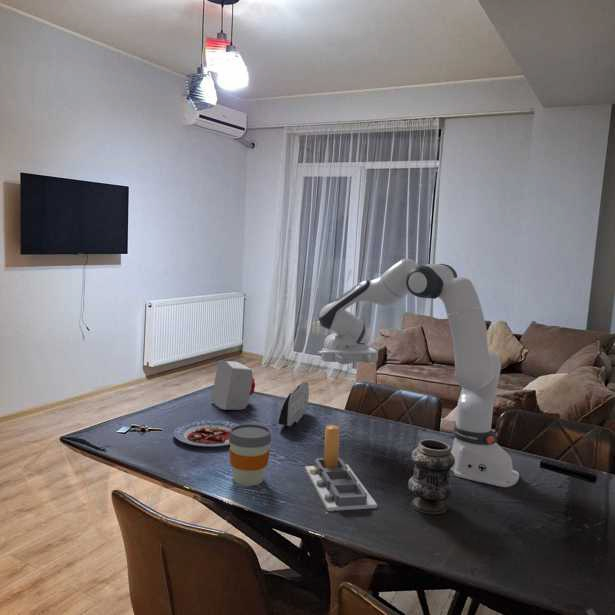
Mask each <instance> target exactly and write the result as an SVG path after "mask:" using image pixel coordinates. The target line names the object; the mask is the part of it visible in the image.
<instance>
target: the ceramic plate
mask: <svg viewBox="0 0 615 615" xmlns="http://www.w3.org/2000/svg"><path fill="white" fill-rule="evenodd" d="M237 425H239V424H238V423H235V422H232V421H227V420H226V421H225V420H218V419H217V420H216V419H215V420H214V419H207V420H196V421H191V422H187V423H184V424H182V425H180V426H177V427H176V429H175V430H174V431H173V434H174V435H173V436H174V437H175V439H177V440H178V441H180V442H182V443H183V444H184V443H185V444H188V445H192V446H197V447H223V446H224V447H225V446H230V442H229V435H230V429H231V428H232V427H234V426H237Z"/></svg>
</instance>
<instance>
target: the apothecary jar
mask: <svg viewBox="0 0 615 615" xmlns="http://www.w3.org/2000/svg"><path fill="white" fill-rule="evenodd" d="M411 460H412V462H413V463H414V468H413V469H414V470H413V475H412V476H411V477H410V478H409V479H408V482H407V486H408V490H410V492H411V493H412V494H413V495H414V496H416V497H414V498H413V499H411V501H410V506H411V507H412V509H414V510H415V511H417V512H420V513H423V514H427V515H442V514H443V513H445V512H446V511H447V510H448V508H447V505H446V503H445V502H443V501H445V500H447V499H448V498H450V497H451V496H452V493H453V486H452V484H451V482H450V472H451V470H450V468H452V467H453V466H454V464H455V458H454V456H453V455H452V453H451V446H450V445H449V444H447V443H446V442H444V441H441V440H439V439H438V440H437V439H432V438H430V439H429V438H425V439H422V440H419V442H418V446H417V447H415V449H413V450H412V452H411Z"/></svg>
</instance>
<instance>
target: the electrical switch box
mask: <svg viewBox="0 0 615 615" xmlns="http://www.w3.org/2000/svg"><path fill="white" fill-rule="evenodd" d="M255 388H256V383H255V378H254V376H253V370H252V368H250V367H248V366H246V365H244V364H242V363H240V362H238V361H230V360H218V361H217V366H216V371H215V377H214V381H213V389H212V394H211V401H212V403H213V404H214V405H215V407H216V406H218V407H219V408H218V409H221V410H224V411H225V410H226V411H227V410H228V411H243V410H242V409H245V410H246V407H247V406H248V404H249V401H250V396H252V395H253V394H254V392H255Z"/></svg>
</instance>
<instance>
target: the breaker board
mask: <svg viewBox="0 0 615 615" xmlns="http://www.w3.org/2000/svg"><path fill="white" fill-rule="evenodd" d="M304 470H305V472H306V474H307V475H308V477H309V479H310V481H311V483H312V484H313V487H314V489H315V491H316V493H317V494H318V496H319V498H320V499H321V502H322V503H323V506H324V507H325V510H326V511H327V510H328V511H327V512H331V511H332V512H334V511H335V510H336V511H348V510H351V511H352V510H363V509H365V510H366V509H367V510H368V509H377V508H378V504H377V502H376V501H375V500H374V498H373V497H372V496H371V494H370V493H369V492H368V490H367V489H366V487H365V486H364V485H363V483H362V482H361V480H360V479H359V478H358V477H357V475H356V474H355V472H354V471H353V470H352V468H351V467H350V466H349V464H348V463H347V464H346V463H345V462H344V460H343V459H342V458H340V457H339V456H338V468H324V457H319V458H318V457H317V458H316V457H315V459H314V465H307V466H306V465H305V466H304ZM336 511H335V512H336Z"/></svg>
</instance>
